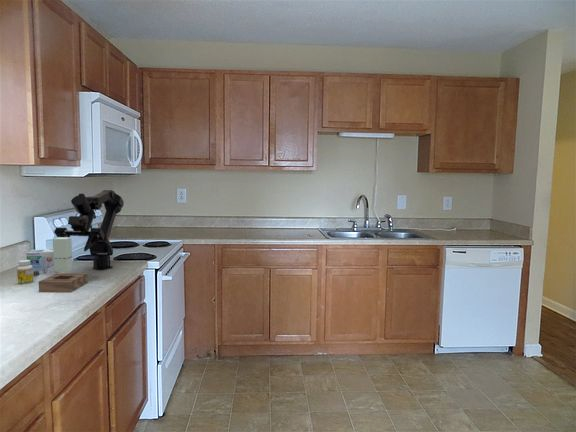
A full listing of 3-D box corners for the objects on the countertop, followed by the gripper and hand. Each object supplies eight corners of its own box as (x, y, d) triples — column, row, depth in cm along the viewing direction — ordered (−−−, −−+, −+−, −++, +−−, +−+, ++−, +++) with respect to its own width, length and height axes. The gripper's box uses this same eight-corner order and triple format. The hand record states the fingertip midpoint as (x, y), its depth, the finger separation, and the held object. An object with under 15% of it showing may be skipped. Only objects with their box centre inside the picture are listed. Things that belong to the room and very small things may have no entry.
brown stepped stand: (57, 281, 169) (57, 270, 169) (96, 282, 170) (96, 271, 169) (27, 296, 150) (27, 284, 149) (72, 296, 150) (71, 284, 149)
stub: (59, 268, 161) (58, 237, 159) (72, 268, 161) (71, 237, 159) (53, 271, 157) (52, 239, 155) (67, 271, 157) (66, 239, 155)
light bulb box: (26, 277, 176) (25, 252, 175) (32, 273, 183) (30, 249, 181) (54, 275, 179) (53, 251, 178) (58, 272, 185) (57, 248, 184)
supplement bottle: (36, 283, 166) (35, 260, 165) (22, 286, 162) (21, 262, 161) (28, 281, 169) (27, 258, 168) (15, 284, 164) (13, 261, 163)
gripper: (55, 208, 169) (41, 239, 160) (100, 208, 170) (89, 239, 160) (66, 224, 178) (53, 254, 168) (109, 225, 178) (99, 255, 169)
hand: (73, 250), depth 166 cm, fingers open, 9 cm apart
